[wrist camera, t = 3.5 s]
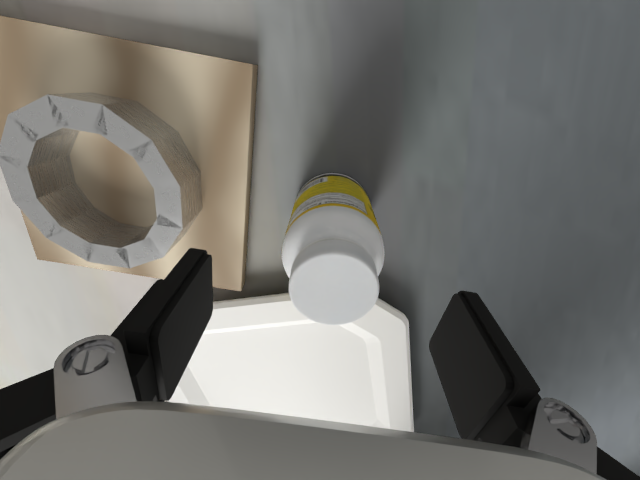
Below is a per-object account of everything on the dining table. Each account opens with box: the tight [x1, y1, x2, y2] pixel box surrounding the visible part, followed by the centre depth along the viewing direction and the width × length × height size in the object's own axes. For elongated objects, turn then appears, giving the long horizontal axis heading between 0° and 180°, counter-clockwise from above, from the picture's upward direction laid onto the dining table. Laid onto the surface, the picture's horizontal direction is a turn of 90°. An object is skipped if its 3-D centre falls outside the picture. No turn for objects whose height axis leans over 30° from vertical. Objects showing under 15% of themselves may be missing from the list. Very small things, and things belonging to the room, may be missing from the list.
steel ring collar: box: [0, 92, 202, 268], centre depth 18 cm, size 10×10×3 cm
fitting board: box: [0, 16, 258, 291], centre depth 20 cm, size 16×16×1 cm
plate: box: [167, 293, 414, 432], centre depth 30 cm, size 25×25×2 cm
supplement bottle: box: [282, 173, 385, 325], centre depth 17 cm, size 5×5×10 cm
